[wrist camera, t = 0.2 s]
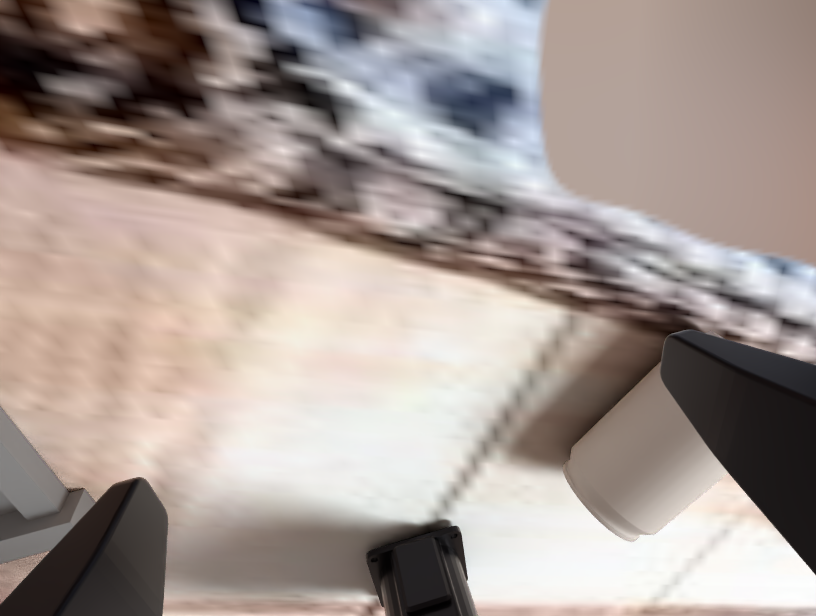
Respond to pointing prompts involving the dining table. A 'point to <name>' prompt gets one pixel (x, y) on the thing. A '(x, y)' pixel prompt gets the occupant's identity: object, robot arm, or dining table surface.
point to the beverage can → (641, 462)
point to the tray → (32, 498)
